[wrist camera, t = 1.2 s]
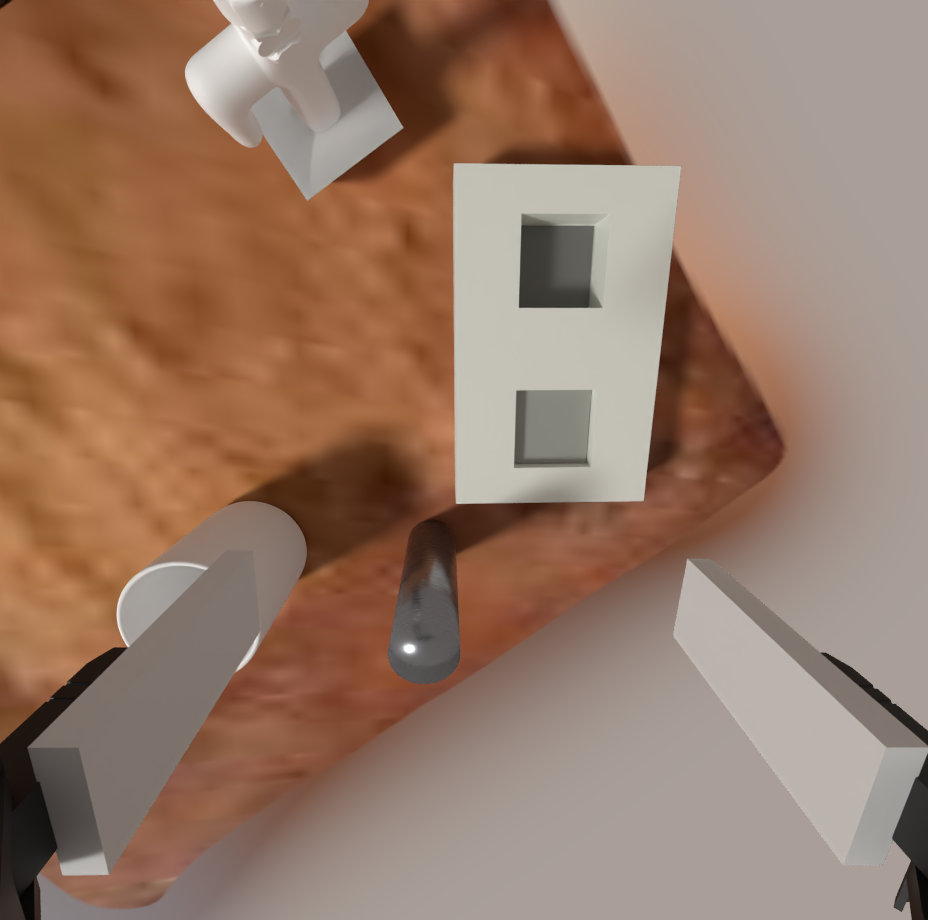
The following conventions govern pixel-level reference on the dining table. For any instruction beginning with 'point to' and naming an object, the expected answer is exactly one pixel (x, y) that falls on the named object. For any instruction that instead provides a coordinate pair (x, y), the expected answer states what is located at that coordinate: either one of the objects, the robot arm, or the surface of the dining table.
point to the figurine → (294, 86)
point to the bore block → (558, 328)
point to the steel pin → (427, 607)
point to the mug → (189, 558)
